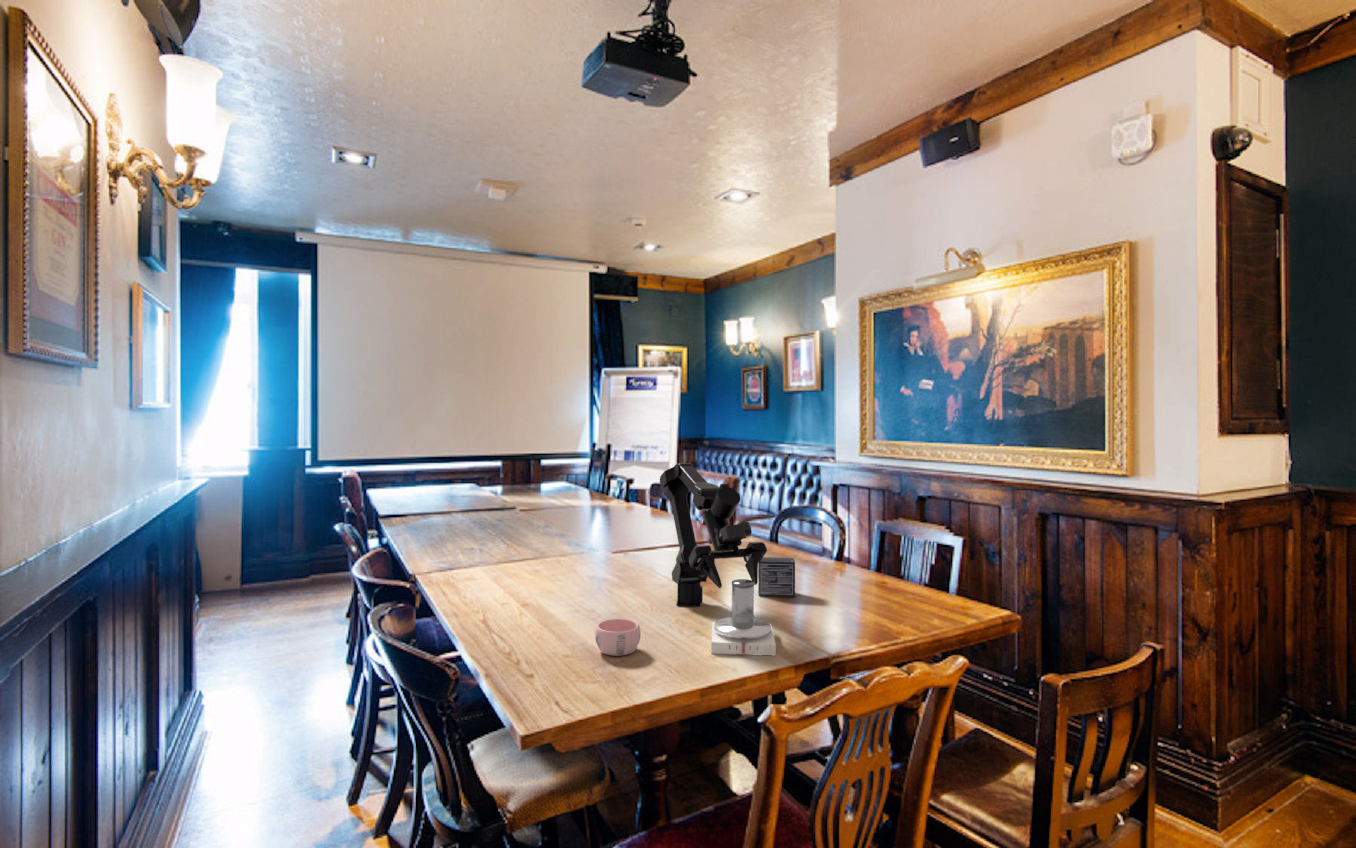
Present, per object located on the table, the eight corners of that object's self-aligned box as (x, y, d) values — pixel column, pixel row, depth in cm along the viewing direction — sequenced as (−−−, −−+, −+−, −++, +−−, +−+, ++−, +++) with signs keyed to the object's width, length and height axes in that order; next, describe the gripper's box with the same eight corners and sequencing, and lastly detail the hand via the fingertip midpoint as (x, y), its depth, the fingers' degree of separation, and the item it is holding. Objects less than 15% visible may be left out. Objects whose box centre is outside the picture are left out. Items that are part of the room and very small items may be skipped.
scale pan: (713, 652, 141) (713, 636, 141) (714, 630, 156) (714, 615, 156) (773, 654, 140) (773, 638, 140) (769, 632, 155) (769, 617, 155)
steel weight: (727, 626, 148) (727, 582, 148) (738, 620, 152) (738, 578, 152) (747, 630, 145) (747, 586, 145) (757, 624, 149) (758, 581, 149)
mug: (645, 657, 140) (645, 630, 140) (600, 662, 136) (600, 634, 136) (631, 639, 151) (631, 613, 151) (589, 643, 148) (589, 617, 148)
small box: (793, 592, 192) (794, 557, 192) (795, 598, 186) (796, 562, 186) (757, 590, 194) (758, 556, 193) (758, 597, 187) (758, 560, 187)
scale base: (711, 653, 142) (711, 642, 142) (712, 632, 156) (712, 621, 156) (775, 656, 141) (775, 644, 141) (771, 634, 155) (771, 623, 155)
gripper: (693, 512, 152) (712, 570, 142) (764, 508, 159) (786, 564, 149) (681, 539, 160) (697, 596, 149) (749, 534, 166) (769, 589, 156)
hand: (738, 585), depth 151 cm, fingers open, 9 cm apart
